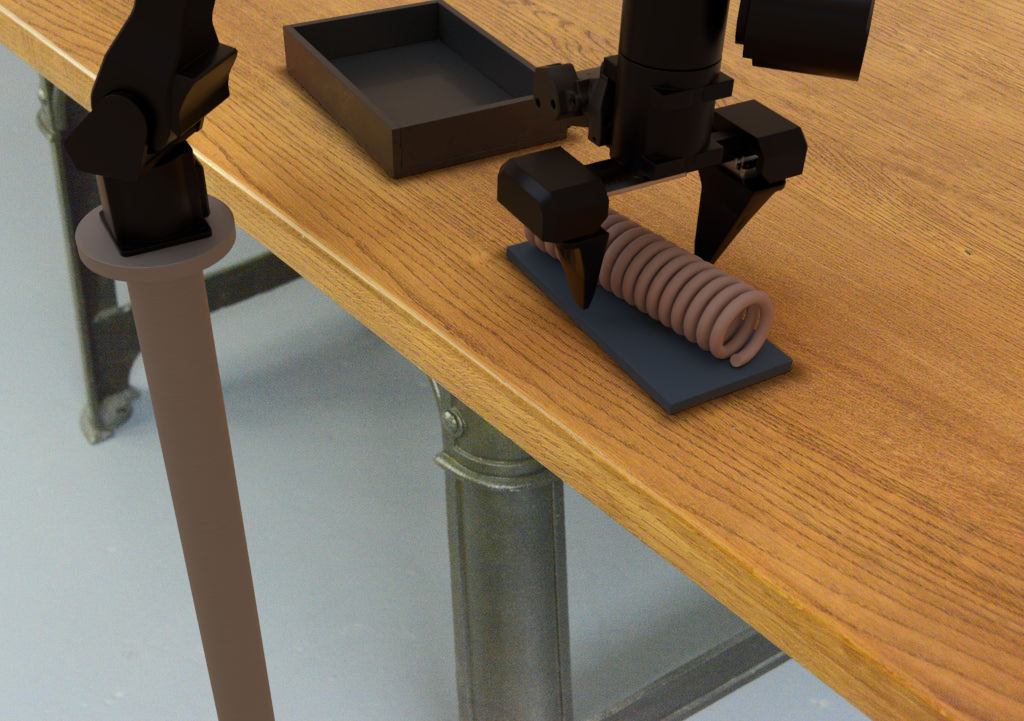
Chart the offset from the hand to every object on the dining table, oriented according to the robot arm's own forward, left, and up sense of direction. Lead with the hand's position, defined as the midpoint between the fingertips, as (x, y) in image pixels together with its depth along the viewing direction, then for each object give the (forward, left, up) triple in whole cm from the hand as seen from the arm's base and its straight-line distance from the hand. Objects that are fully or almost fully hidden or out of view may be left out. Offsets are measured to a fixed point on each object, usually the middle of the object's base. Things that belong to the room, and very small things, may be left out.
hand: (642, 286), depth 73 cm
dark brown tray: (+1, +34, -2) cm, 34 cm away
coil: (0, 0, -1) cm, 1 cm away
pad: (0, 0, -2) cm, 2 cm away
